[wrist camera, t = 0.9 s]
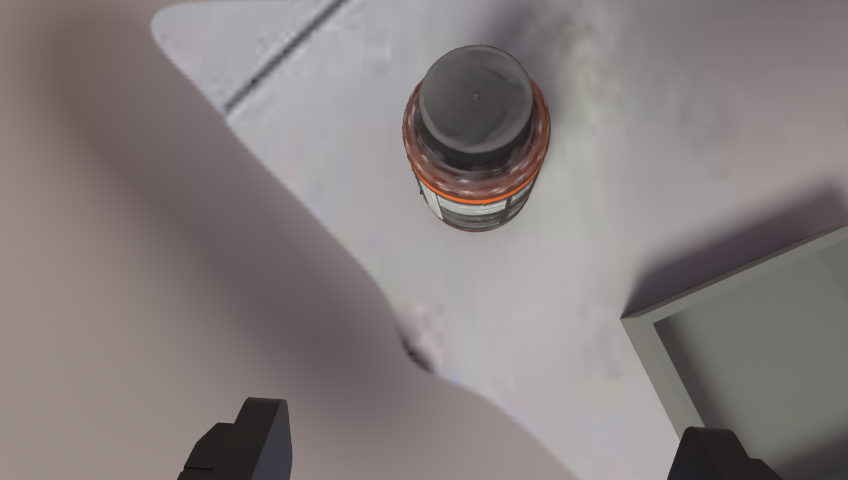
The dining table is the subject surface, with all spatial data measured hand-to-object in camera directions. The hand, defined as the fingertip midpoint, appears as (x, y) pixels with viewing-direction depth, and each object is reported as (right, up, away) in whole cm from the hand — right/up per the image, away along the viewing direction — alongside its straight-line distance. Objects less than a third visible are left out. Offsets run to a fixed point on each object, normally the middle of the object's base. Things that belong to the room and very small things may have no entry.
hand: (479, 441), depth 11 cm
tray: (+16, -3, +16) cm, 23 cm away
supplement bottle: (+2, +7, +19) cm, 20 cm away
